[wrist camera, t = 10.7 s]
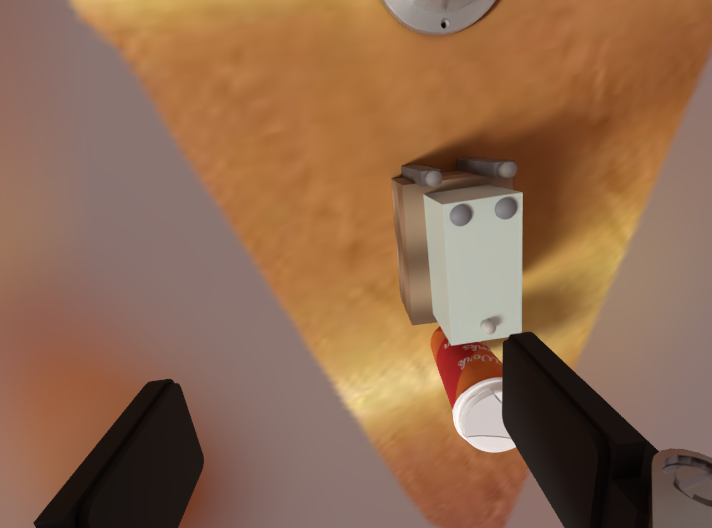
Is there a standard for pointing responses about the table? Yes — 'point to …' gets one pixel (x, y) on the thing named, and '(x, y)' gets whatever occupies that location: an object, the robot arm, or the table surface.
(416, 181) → the brown boxy piece
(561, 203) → the table surface
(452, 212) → the white block with knobs
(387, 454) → the table surface
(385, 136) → the table surface
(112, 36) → the table surface
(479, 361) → the paper cup
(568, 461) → the robot arm
